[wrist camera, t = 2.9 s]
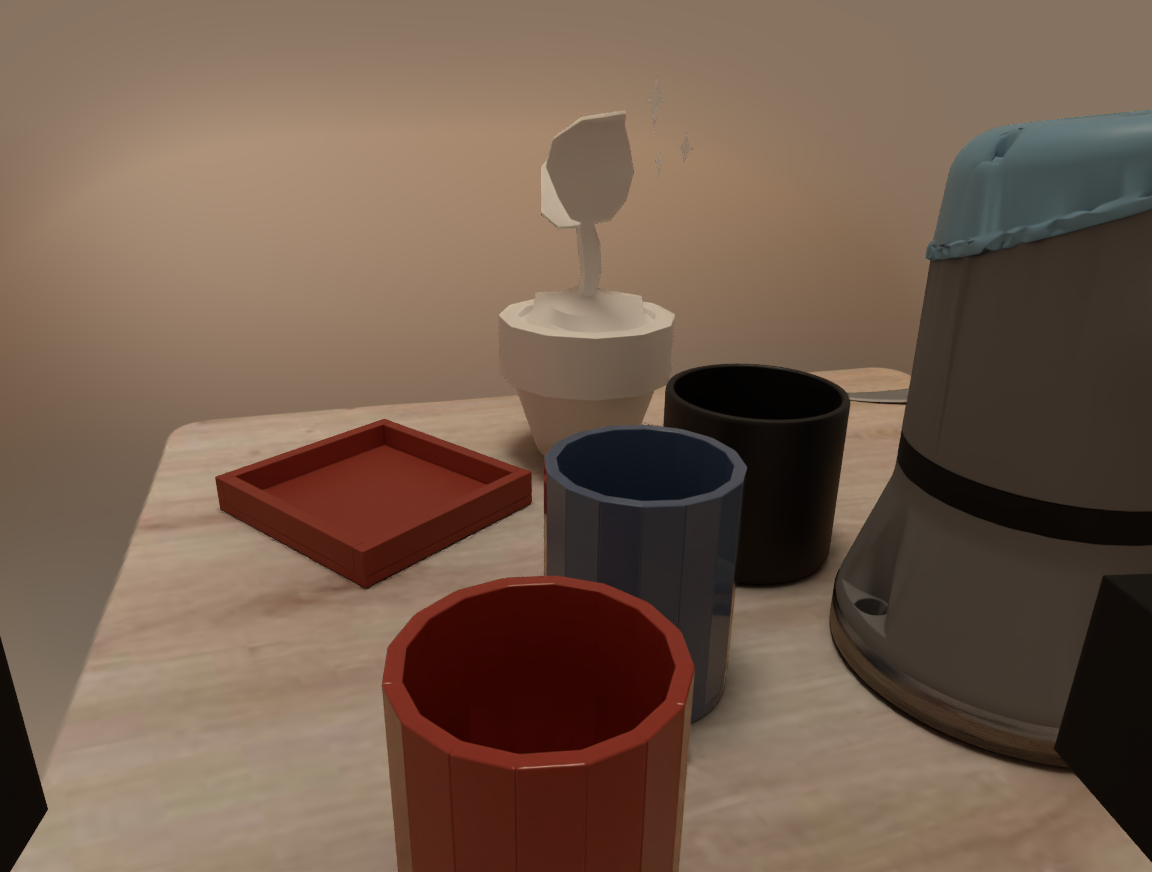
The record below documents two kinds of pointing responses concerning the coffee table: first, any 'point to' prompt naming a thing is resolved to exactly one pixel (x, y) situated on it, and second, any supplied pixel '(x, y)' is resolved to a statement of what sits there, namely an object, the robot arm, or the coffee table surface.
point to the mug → (772, 457)
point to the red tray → (374, 498)
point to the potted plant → (586, 300)
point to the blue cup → (653, 530)
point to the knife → (881, 396)
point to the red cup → (538, 731)
